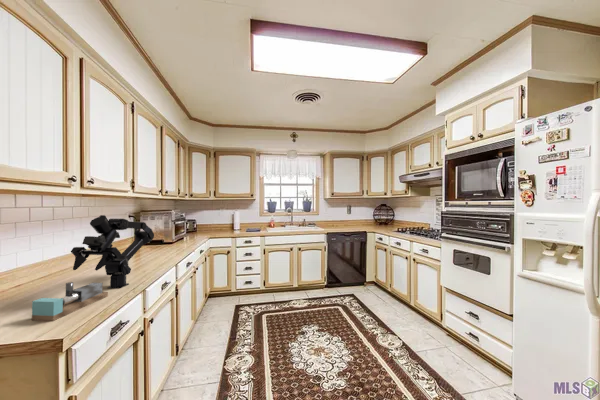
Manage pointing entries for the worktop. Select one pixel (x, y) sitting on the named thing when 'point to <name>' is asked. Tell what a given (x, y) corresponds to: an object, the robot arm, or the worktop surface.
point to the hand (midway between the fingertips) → (84, 269)
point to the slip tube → (70, 294)
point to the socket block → (47, 306)
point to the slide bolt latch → (78, 301)
